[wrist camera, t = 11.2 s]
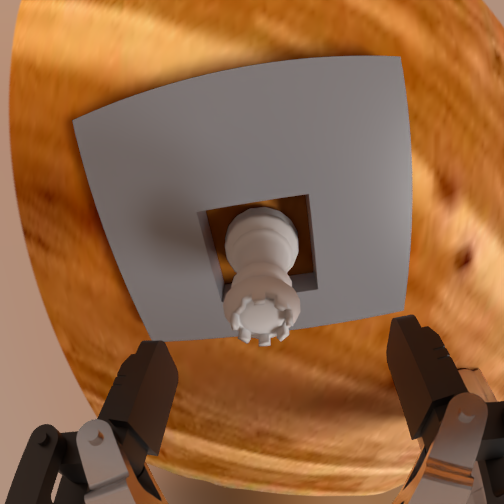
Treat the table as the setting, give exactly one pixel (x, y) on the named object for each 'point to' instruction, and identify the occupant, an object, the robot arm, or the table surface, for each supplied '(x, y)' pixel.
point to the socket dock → (257, 185)
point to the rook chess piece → (261, 275)
